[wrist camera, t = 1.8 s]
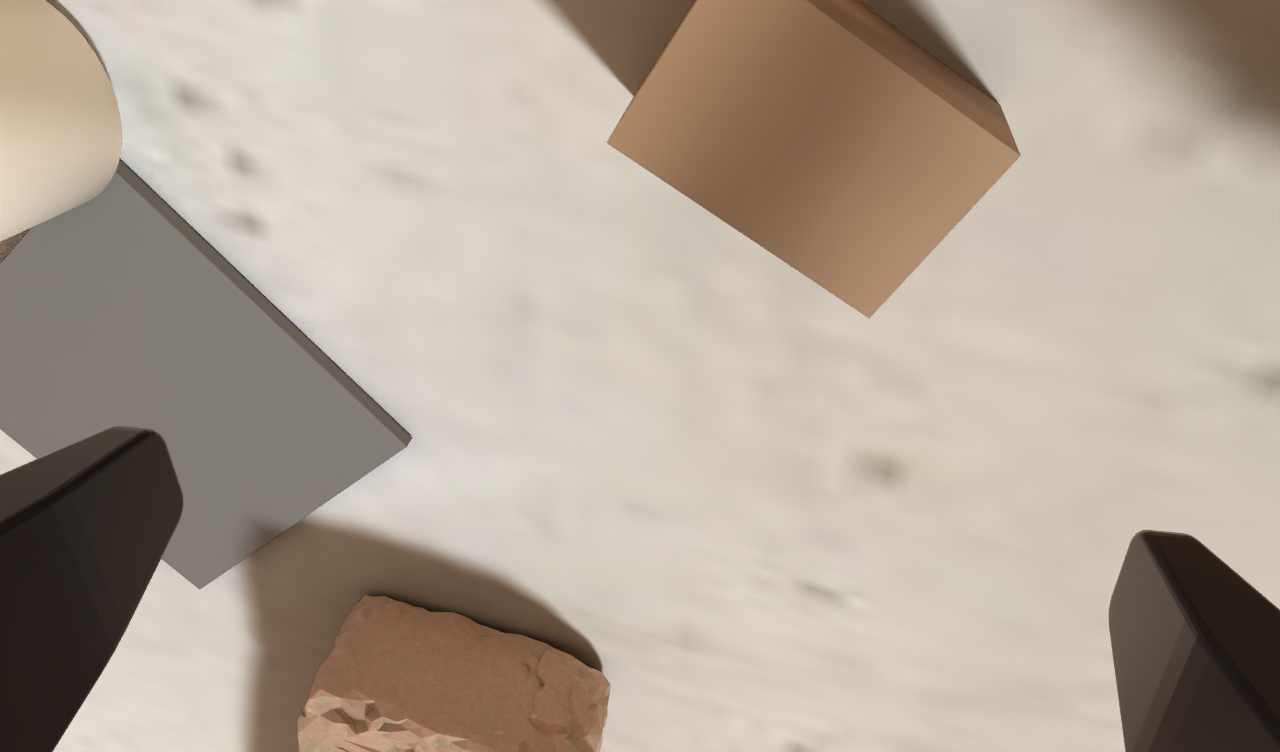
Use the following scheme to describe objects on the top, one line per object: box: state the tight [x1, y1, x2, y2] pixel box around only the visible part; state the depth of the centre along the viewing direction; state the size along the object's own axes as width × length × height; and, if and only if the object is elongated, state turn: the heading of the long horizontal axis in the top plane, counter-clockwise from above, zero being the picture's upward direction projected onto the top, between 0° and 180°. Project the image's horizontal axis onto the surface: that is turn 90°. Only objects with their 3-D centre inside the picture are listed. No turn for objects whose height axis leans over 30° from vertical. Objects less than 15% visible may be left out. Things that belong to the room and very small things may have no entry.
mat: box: [0, 159, 412, 589], centre depth 27 cm, size 10×10×1 cm
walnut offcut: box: [607, 0, 1020, 318], centre depth 19 cm, size 6×4×3 cm, turn 58°
